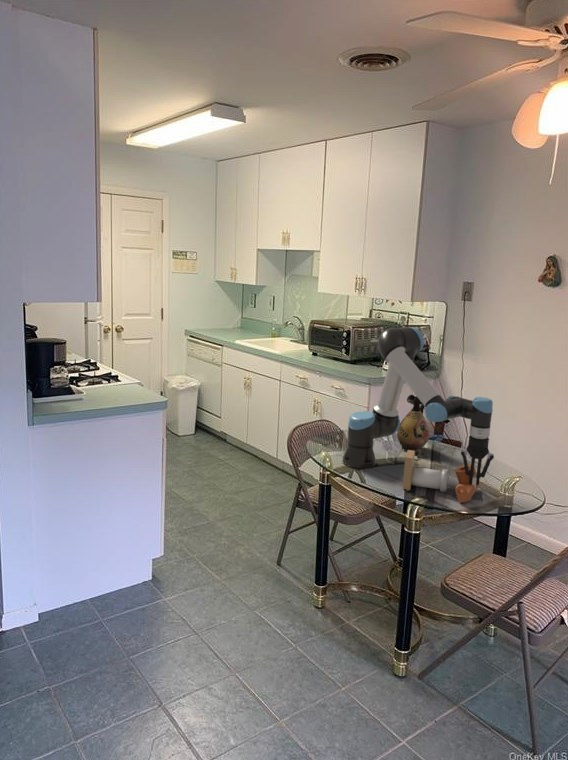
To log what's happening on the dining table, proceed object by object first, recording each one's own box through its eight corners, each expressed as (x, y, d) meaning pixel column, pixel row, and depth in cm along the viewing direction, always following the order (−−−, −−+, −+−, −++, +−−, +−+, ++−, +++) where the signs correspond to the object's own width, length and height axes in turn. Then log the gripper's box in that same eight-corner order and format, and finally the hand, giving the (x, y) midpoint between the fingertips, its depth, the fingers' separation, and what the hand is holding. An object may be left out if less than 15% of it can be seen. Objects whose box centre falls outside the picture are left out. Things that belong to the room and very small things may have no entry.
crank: (455, 467, 244) (474, 462, 241) (460, 484, 244) (479, 480, 241) (453, 484, 225) (473, 479, 222) (459, 502, 226) (479, 498, 223)
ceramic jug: (411, 456, 277) (416, 396, 271) (389, 447, 290) (394, 389, 284) (436, 451, 286) (442, 392, 280) (414, 442, 299) (419, 386, 292)
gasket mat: (446, 495, 233) (446, 494, 233) (447, 487, 241) (447, 487, 241) (482, 500, 229) (482, 499, 229) (482, 493, 237) (482, 492, 237)
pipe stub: (402, 489, 237) (405, 457, 234) (405, 480, 247) (407, 449, 244) (445, 496, 233) (449, 463, 230) (446, 486, 242) (449, 455, 239)
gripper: (462, 437, 227) (456, 492, 232) (496, 441, 224) (490, 497, 229) (462, 431, 234) (456, 485, 239) (496, 435, 231) (489, 490, 236)
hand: (473, 491), depth 234 cm, fingers closed
